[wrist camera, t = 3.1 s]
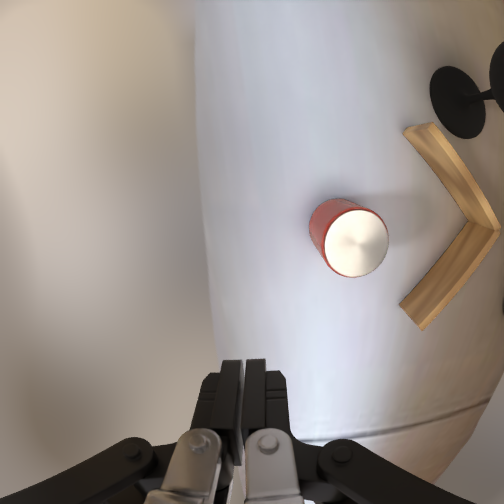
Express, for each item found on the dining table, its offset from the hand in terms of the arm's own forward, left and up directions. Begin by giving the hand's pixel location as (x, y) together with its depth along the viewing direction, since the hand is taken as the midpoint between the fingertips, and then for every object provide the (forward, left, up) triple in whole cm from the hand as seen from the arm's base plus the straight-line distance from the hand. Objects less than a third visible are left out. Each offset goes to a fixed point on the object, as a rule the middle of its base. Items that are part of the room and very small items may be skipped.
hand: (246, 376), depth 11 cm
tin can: (+6, +7, -23) cm, 25 cm away
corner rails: (+13, +14, -23) cm, 30 cm away
